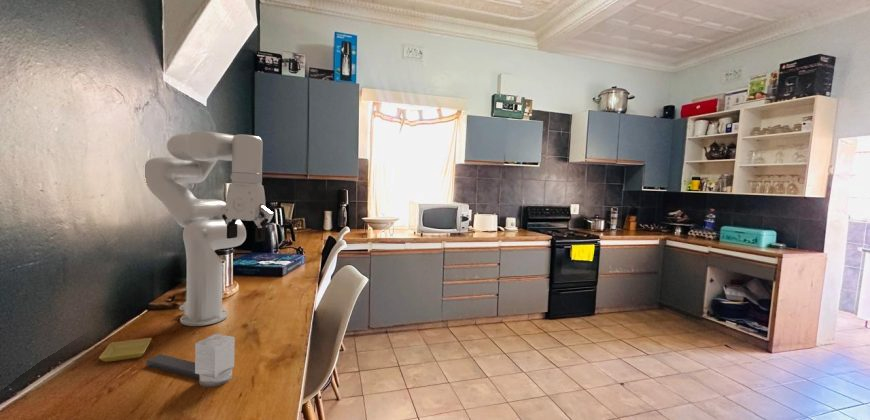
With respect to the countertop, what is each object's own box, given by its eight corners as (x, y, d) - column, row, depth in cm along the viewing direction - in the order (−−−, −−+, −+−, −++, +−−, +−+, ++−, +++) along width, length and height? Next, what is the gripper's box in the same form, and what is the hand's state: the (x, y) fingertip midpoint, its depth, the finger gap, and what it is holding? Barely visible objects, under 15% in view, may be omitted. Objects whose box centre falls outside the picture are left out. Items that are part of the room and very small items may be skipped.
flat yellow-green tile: (144, 359, 89) (144, 351, 88) (98, 366, 85) (98, 357, 84) (152, 344, 96) (152, 337, 96) (110, 350, 92) (110, 342, 92)
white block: (195, 373, 80) (195, 343, 79) (215, 361, 85) (215, 333, 84) (214, 378, 78) (214, 347, 78) (234, 366, 84) (234, 337, 83)
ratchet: (139, 369, 84) (139, 347, 83) (166, 357, 90) (166, 336, 89) (215, 389, 78) (215, 365, 77) (238, 374, 84) (238, 352, 84)
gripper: (210, 177, 99) (210, 238, 100) (263, 181, 95) (261, 244, 96) (232, 178, 106) (231, 235, 108) (282, 181, 102) (280, 240, 103)
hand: (245, 239), depth 102 cm, fingers open, 9 cm apart
